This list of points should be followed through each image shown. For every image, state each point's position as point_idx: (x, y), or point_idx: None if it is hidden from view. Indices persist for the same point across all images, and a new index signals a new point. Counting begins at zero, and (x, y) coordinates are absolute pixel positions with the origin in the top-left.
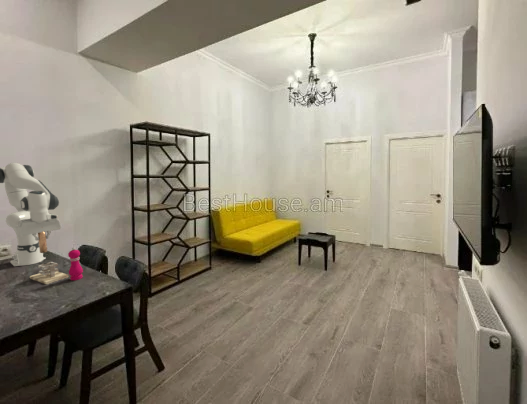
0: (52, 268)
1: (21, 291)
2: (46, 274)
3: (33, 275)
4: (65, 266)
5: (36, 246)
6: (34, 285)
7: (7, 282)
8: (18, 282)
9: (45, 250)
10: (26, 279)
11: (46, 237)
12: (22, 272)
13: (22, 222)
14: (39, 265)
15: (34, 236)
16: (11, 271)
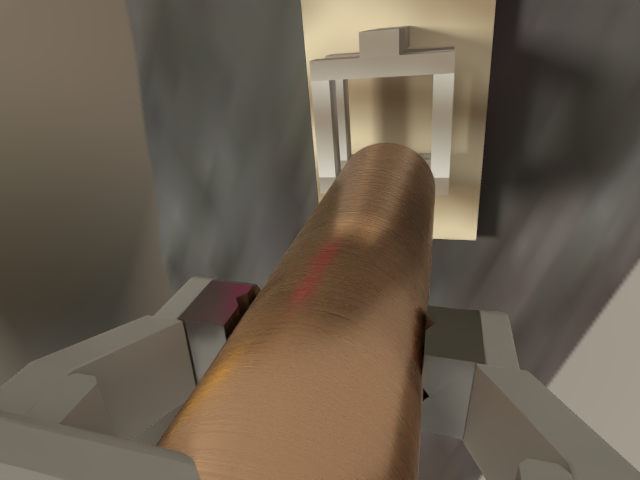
0: (381, 29)
1: None
2: (438, 46)
3: (453, 230)
4: (228, 256)
5: None
6: (561, 5)
7: (593, 295)
8: (563, 221)
9: (374, 150)
10: (498, 234)
11: (238, 302)
12: None
13: None
14: (441, 177)
15: (583, 440)
16: (452, 459)
